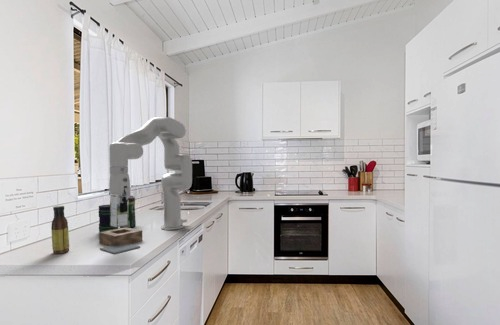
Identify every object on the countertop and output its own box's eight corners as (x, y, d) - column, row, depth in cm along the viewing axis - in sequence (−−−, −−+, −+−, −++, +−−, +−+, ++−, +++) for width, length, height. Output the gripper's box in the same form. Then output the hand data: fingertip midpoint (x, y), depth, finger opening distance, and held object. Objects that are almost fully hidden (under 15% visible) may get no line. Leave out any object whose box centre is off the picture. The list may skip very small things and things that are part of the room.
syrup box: (122, 224, 145) (121, 192, 145) (129, 225, 142) (128, 192, 142) (109, 226, 141) (109, 193, 141) (116, 227, 137) (116, 193, 137)
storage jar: (122, 231, 178) (121, 204, 178) (112, 235, 168) (112, 206, 168) (105, 230, 179) (104, 204, 179) (94, 235, 169) (94, 206, 169)
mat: (125, 243, 150) (125, 242, 150) (140, 247, 143) (140, 246, 143) (100, 249, 140) (100, 248, 140) (114, 254, 133) (114, 252, 133)
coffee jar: (124, 225, 194) (123, 194, 194) (137, 225, 194) (136, 194, 194) (117, 228, 185) (117, 196, 185) (131, 228, 184) (130, 196, 184)
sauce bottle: (65, 249, 141) (65, 204, 141) (71, 251, 137) (71, 205, 137) (49, 252, 136) (48, 206, 136) (55, 255, 132) (54, 207, 132)
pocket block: (126, 237, 163) (126, 227, 163) (142, 240, 155) (142, 230, 155) (99, 242, 152) (99, 232, 152) (115, 247, 144) (115, 236, 144)
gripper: (137, 170, 139) (138, 211, 139) (116, 170, 150) (116, 208, 150) (121, 171, 133) (122, 214, 133) (100, 170, 144) (101, 210, 144)
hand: (119, 210), depth 141 cm, fingers closed on syrup box, 5 cm apart
